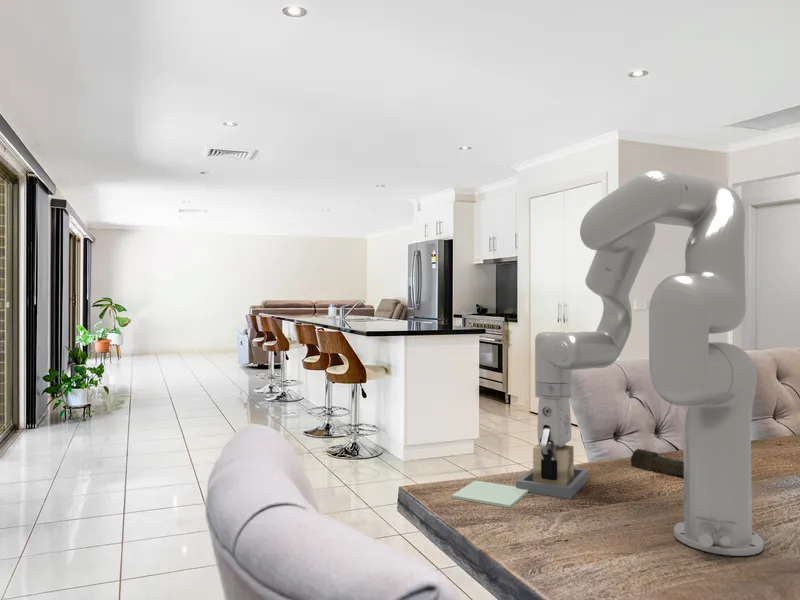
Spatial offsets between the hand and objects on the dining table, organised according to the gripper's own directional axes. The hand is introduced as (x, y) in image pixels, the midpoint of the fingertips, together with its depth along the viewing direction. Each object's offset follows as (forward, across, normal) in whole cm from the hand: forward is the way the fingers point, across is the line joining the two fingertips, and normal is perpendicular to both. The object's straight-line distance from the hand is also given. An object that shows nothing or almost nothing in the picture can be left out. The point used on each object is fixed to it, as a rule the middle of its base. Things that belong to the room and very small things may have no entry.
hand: (553, 474), depth 125 cm
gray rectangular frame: (+2, 0, 0) cm, 2 cm away
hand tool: (+3, +21, -21) cm, 30 cm away
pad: (+2, -13, +9) cm, 16 cm away
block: (+2, 0, 0) cm, 2 cm away
